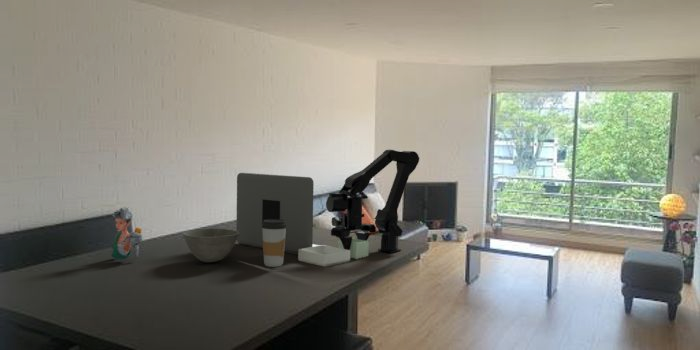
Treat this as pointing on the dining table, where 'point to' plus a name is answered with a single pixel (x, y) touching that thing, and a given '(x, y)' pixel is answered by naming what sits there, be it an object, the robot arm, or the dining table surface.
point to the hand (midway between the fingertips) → (353, 253)
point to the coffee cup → (273, 241)
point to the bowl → (210, 243)
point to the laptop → (275, 208)
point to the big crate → (324, 255)
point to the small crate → (357, 248)
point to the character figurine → (125, 235)
